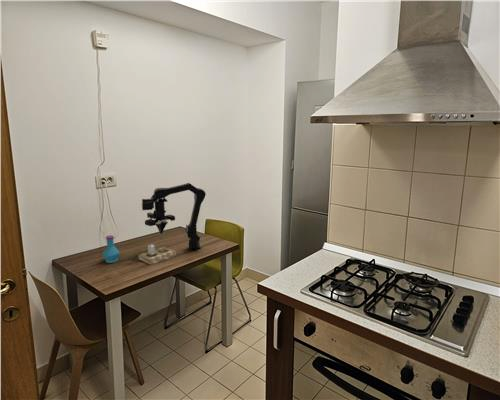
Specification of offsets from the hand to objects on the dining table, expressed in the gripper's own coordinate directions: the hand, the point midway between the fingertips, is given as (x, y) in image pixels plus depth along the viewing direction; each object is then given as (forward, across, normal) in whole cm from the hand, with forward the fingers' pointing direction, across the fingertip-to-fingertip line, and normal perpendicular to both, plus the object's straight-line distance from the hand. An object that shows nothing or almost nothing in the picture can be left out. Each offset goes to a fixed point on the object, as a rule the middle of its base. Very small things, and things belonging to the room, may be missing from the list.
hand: (161, 233), depth 214 cm
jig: (+12, +7, +5) cm, 15 cm away
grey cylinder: (+12, +11, +5) cm, 17 cm away
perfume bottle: (+13, +27, -12) cm, 32 cm away
